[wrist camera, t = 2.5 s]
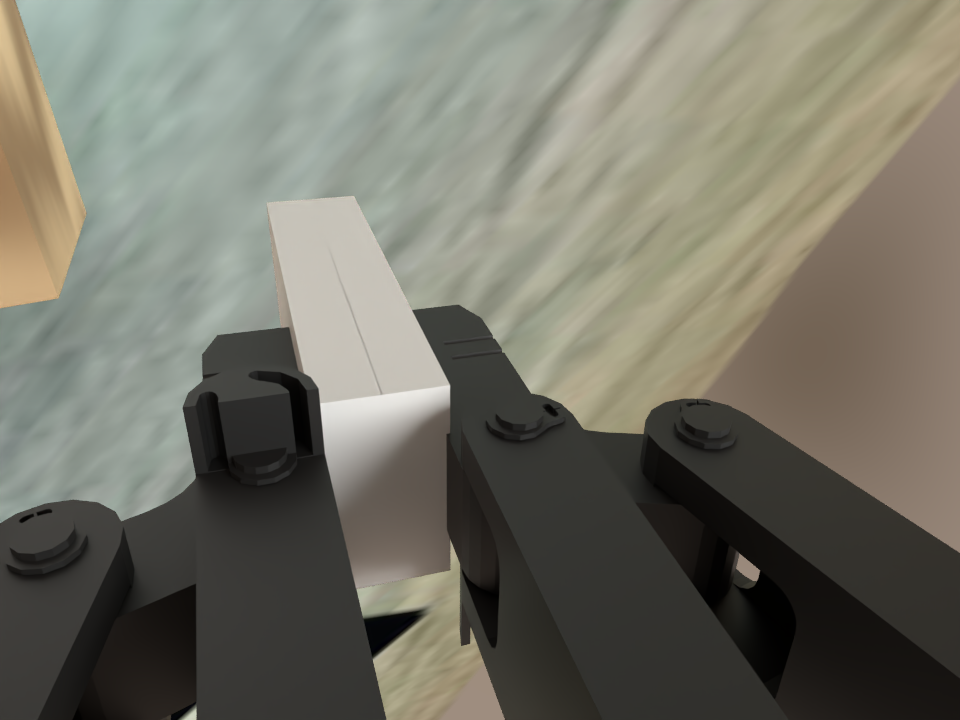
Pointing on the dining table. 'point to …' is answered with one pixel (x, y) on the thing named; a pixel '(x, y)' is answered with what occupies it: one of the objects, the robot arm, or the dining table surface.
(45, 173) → the oak block
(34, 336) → the dining table surface
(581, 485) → the robot arm
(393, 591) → the dining table surface
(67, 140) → the dining table surface
